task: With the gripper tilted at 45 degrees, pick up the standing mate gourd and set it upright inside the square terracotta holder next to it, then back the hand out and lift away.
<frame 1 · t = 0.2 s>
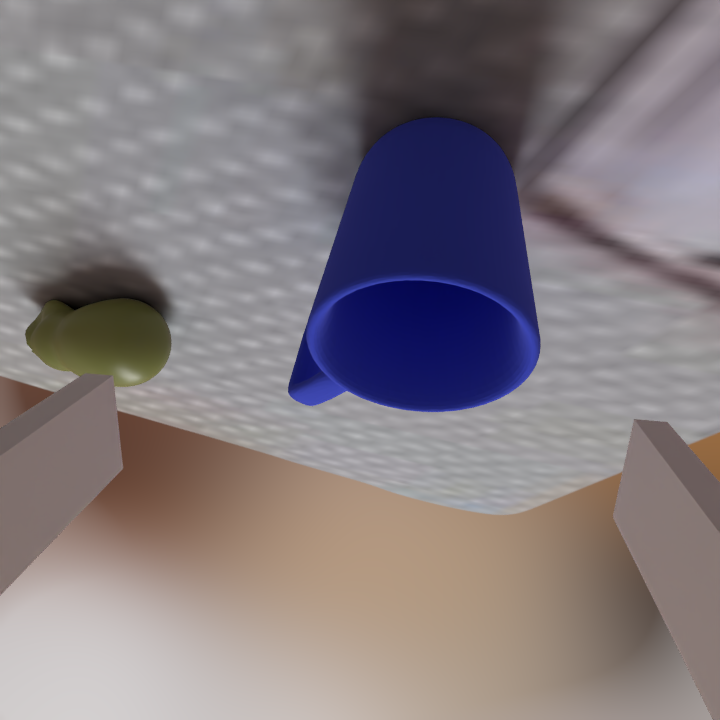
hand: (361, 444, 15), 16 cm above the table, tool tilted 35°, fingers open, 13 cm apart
mug: (406, 195, 28), on the table
pear: (110, 310, 39), on the table
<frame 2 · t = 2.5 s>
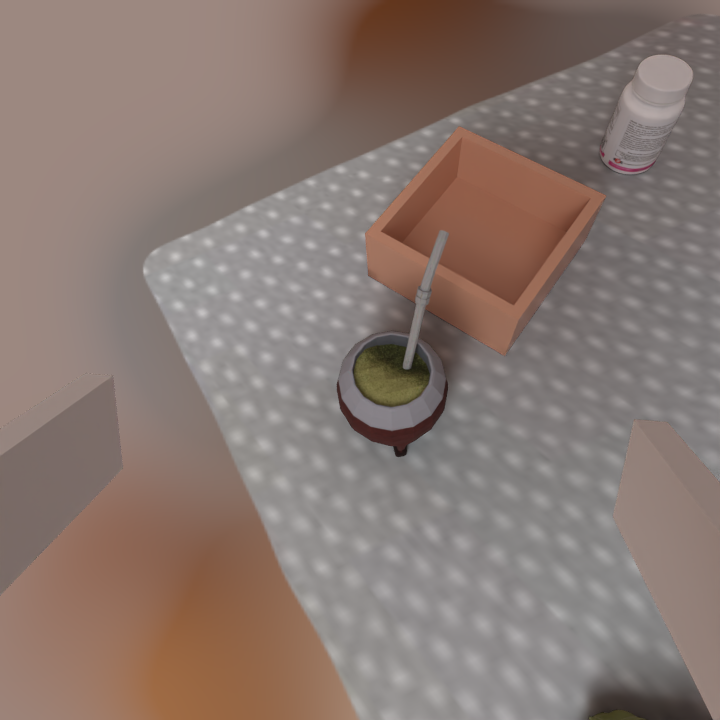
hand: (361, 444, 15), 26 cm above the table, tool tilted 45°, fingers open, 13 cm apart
holder: (476, 258, 48), on the table
mate gourd: (394, 410, 43), on the table
pill bottle: (625, 157, 52), on the table
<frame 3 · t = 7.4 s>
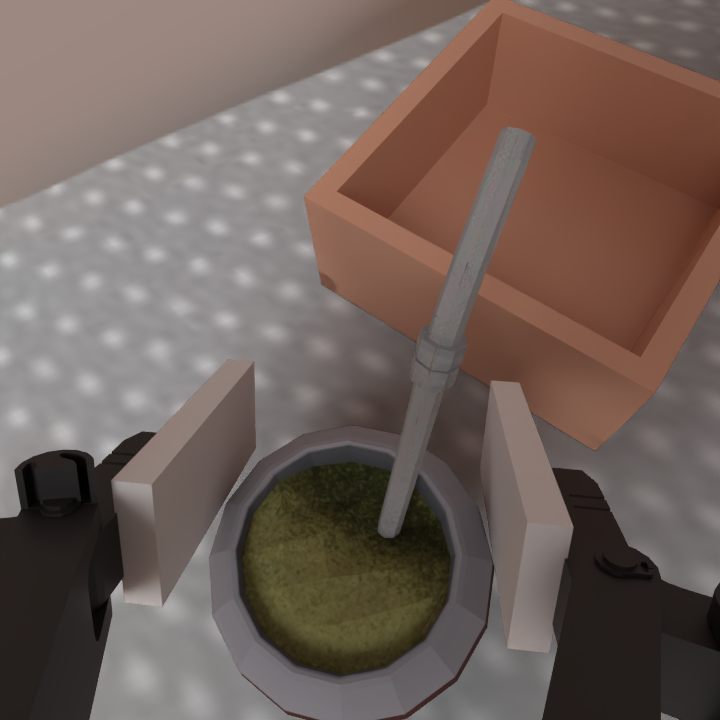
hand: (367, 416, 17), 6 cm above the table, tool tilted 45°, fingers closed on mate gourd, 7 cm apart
holder: (527, 251, 25), on the table
mate gourd: (366, 572, 20), on the table, touching gripper
when the fingers open (8 cm above the table, at t = 14.5 s): mate gourd drops 1 cm, resting on holder.
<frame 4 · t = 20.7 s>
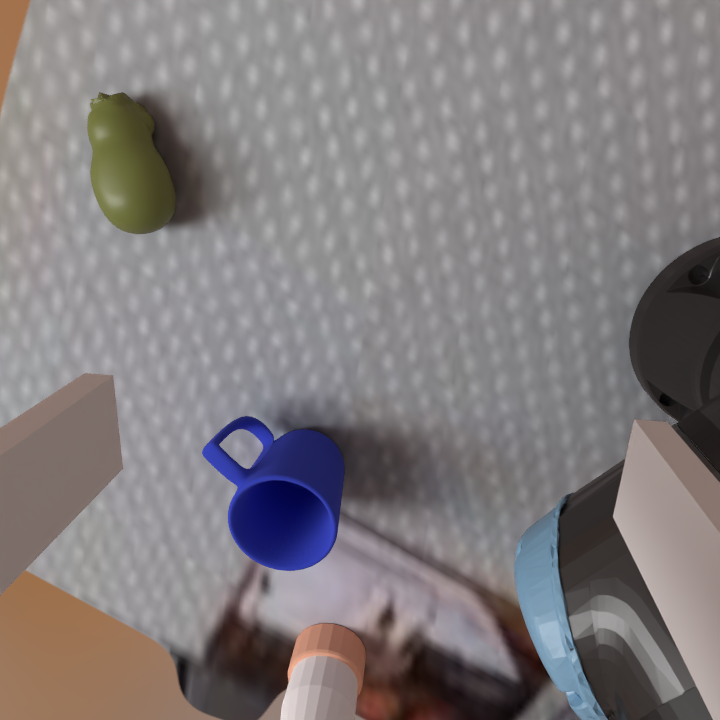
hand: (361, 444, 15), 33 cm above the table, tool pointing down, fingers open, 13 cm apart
pepper shaker: (330, 650, 60), on the table
mug: (292, 443, 53), on the table
pear: (143, 163, 46), on the table
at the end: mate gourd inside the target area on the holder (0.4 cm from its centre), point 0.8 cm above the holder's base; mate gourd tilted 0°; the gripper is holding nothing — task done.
